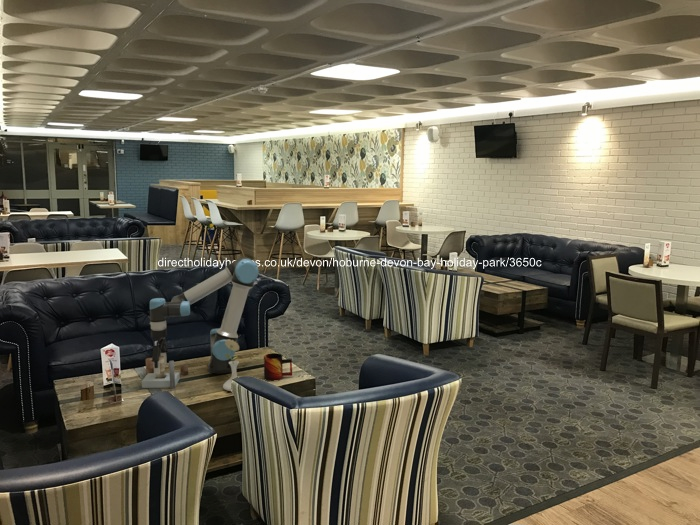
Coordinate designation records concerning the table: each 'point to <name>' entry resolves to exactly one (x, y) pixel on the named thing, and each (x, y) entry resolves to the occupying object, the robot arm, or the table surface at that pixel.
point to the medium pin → (149, 366)
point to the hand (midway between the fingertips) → (160, 369)
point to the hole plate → (168, 381)
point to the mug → (275, 367)
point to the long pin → (161, 368)
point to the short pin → (184, 370)
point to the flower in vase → (231, 363)
